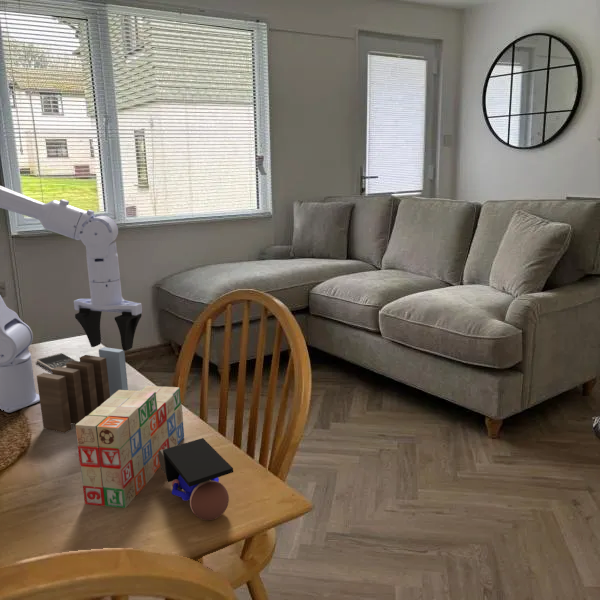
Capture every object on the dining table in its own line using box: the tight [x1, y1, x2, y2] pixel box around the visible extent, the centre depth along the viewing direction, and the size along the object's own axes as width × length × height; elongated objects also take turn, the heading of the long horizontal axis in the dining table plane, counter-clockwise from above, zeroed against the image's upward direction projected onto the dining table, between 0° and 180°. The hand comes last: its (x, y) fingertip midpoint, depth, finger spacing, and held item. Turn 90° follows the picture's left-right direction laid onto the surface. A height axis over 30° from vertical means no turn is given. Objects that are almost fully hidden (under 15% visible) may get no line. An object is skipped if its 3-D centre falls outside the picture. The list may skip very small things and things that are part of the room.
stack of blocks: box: [75, 385, 185, 509], centre depth 91 cm, size 21×6×12 cm, turn 169°
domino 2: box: [51, 366, 86, 425], centre depth 108 cm, size 2×5×10 cm, turn 66°
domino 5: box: [98, 346, 129, 397], centre depth 118 cm, size 2×5×10 cm, turn 66°
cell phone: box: [35, 353, 76, 372], centre depth 139 cm, size 6×11×1 cm, turn 44°
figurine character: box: [158, 437, 234, 521], centre depth 83 cm, size 7×8×15 cm
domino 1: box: [36, 372, 72, 434], centre depth 105 cm, size 2×5×10 cm, turn 66°
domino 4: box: [79, 354, 110, 407], centre depth 114 cm, size 2×5×10 cm, turn 66°
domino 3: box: [66, 360, 98, 417], centre depth 111 cm, size 2×5×10 cm, turn 66°
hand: (111, 347), depth 117 cm, fingers open, 7 cm apart
